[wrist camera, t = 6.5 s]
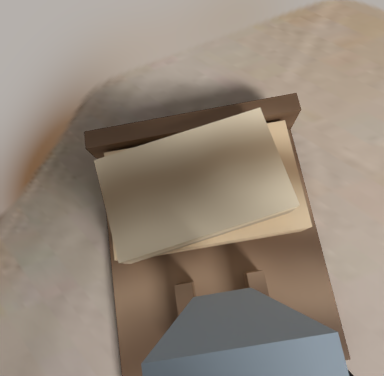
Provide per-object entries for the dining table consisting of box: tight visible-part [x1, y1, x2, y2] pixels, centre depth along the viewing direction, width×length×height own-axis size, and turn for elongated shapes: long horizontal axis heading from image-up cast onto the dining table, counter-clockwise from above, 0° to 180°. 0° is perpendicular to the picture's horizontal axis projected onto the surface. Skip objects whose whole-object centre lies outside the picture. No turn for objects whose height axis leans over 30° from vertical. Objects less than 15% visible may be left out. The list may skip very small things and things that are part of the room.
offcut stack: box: [94, 108, 312, 264], centre depth 20 cm, size 7×12×5 cm, turn 99°
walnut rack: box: [84, 93, 350, 376], centre depth 21 cm, size 16×14×4 cm
